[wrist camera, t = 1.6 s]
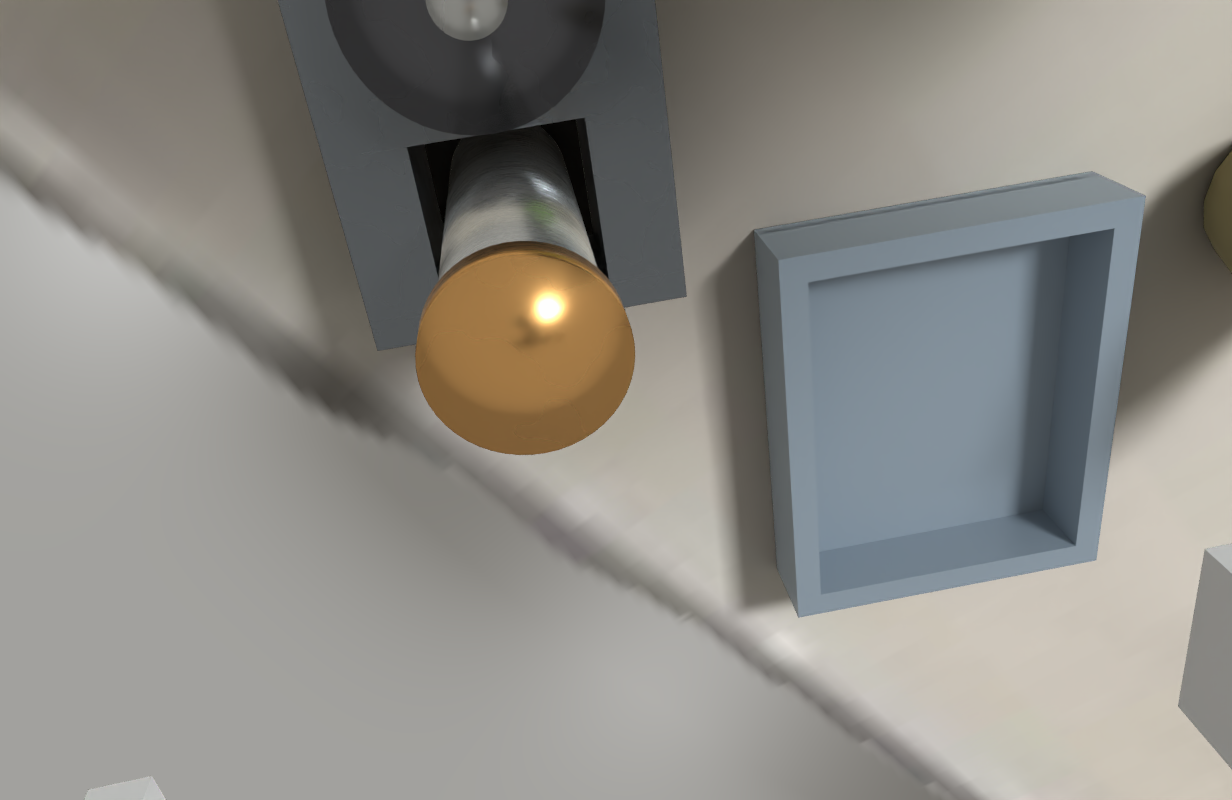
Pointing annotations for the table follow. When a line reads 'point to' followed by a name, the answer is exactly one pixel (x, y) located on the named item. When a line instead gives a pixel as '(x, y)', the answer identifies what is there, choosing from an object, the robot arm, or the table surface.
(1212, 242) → the squeeze bottle
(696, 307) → the table surface
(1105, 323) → the parts tray
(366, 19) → the grey boxy piece
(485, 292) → the glass jar with lid
